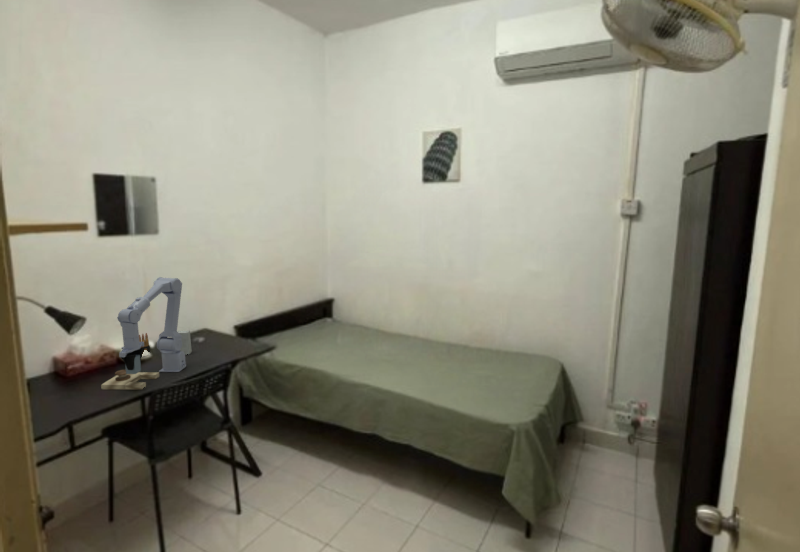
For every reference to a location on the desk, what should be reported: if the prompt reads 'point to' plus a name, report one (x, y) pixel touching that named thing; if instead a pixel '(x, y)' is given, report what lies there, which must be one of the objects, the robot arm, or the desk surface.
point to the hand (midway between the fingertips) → (133, 367)
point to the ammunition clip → (145, 342)
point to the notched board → (129, 380)
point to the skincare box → (185, 342)
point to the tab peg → (135, 366)
